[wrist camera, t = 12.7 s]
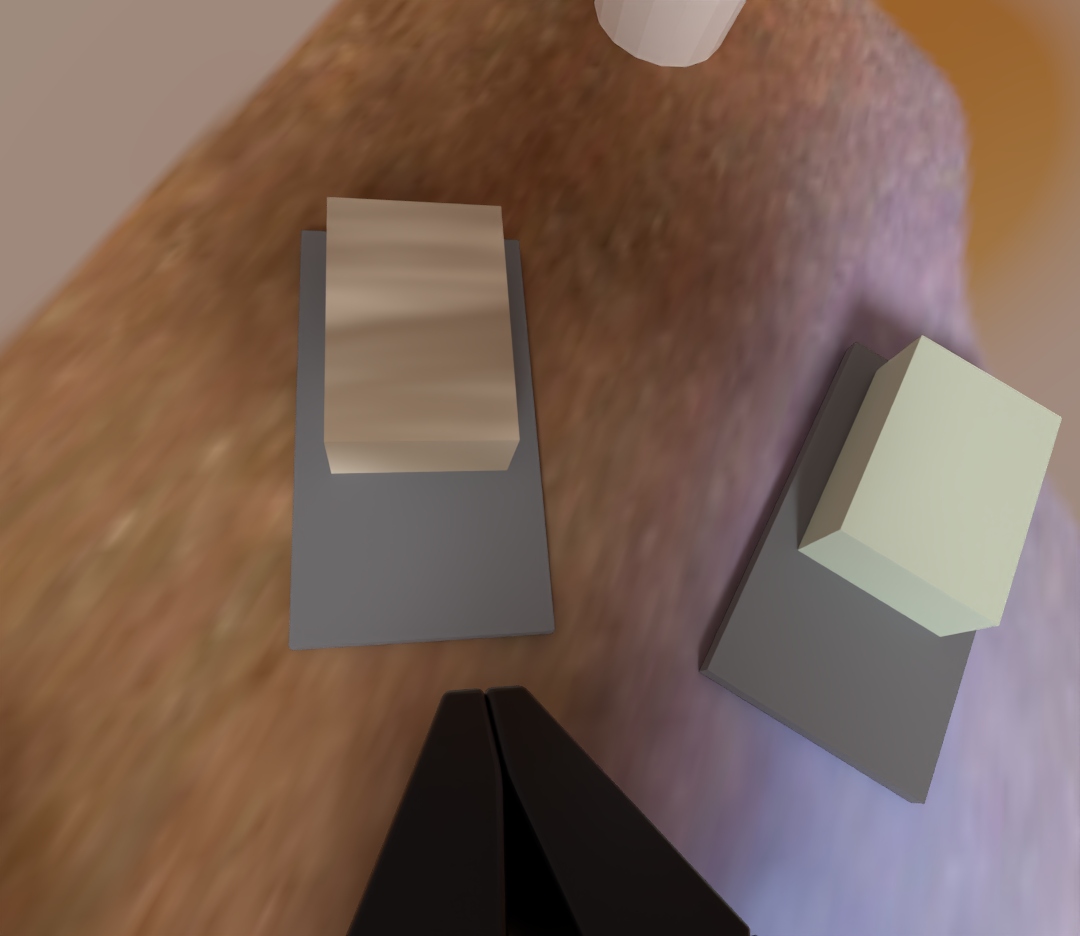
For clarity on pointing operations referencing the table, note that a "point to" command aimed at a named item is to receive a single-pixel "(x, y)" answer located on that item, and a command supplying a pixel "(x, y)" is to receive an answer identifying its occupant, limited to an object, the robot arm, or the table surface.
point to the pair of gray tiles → (524, 578)
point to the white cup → (668, 28)
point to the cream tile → (417, 338)
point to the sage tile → (934, 490)
